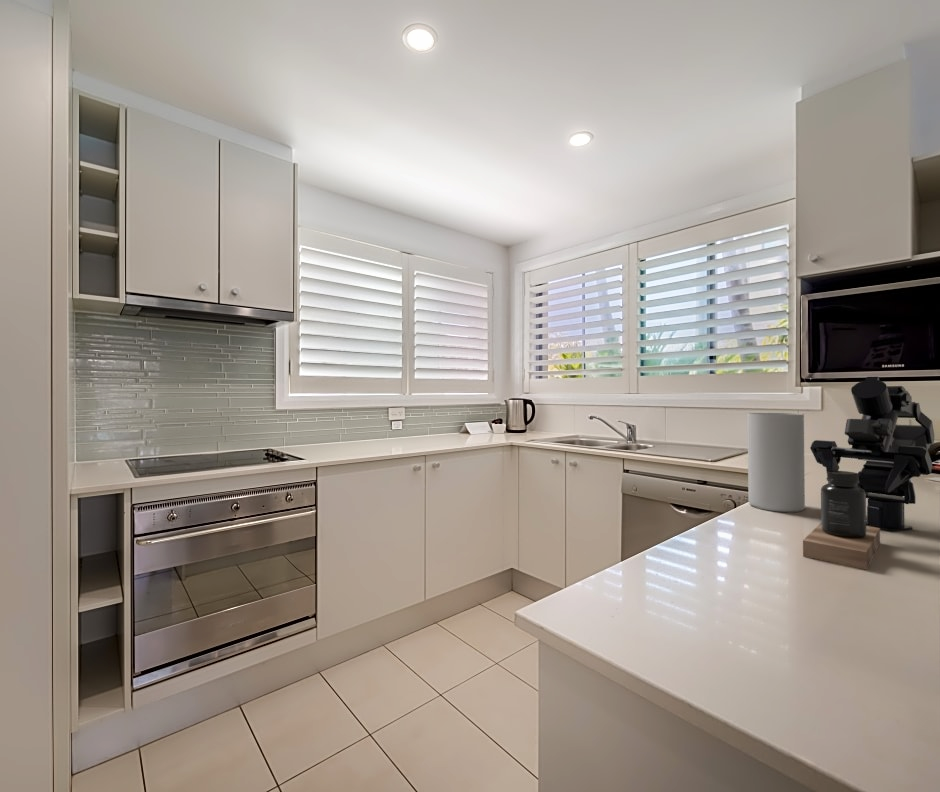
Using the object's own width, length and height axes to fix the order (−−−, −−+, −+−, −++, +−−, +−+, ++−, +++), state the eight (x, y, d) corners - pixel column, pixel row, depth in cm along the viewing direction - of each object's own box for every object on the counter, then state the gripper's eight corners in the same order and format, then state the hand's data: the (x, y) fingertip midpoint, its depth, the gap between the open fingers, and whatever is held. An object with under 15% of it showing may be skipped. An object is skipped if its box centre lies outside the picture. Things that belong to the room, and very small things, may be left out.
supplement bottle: (876, 538, 85) (876, 474, 85) (843, 540, 85) (842, 476, 85) (843, 527, 92) (842, 468, 92) (812, 529, 92) (811, 469, 91)
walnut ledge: (824, 533, 98) (824, 519, 98) (879, 542, 92) (879, 528, 92) (803, 556, 85) (802, 540, 85) (866, 569, 78) (866, 552, 78)
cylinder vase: (755, 511, 118) (754, 414, 118) (743, 500, 129) (742, 412, 129) (812, 514, 114) (811, 414, 114) (794, 503, 126) (793, 412, 125)
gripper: (813, 404, 103) (791, 457, 97) (927, 405, 87) (910, 468, 81) (827, 437, 107) (808, 489, 101) (939, 443, 92) (923, 505, 86)
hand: (857, 487), depth 92 cm, fingers open, 9 cm apart
